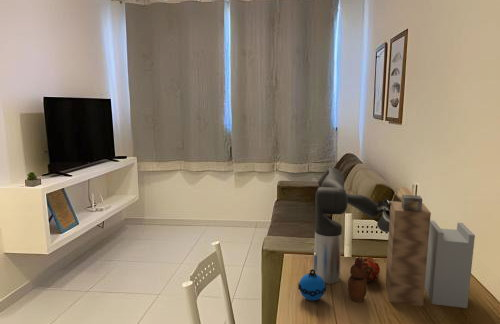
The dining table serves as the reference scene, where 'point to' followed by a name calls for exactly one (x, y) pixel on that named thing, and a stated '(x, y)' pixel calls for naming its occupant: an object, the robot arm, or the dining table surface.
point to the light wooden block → (409, 200)
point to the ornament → (312, 286)
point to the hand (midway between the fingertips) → (398, 201)
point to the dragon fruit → (370, 269)
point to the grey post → (449, 265)
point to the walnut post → (407, 254)
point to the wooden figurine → (357, 281)
